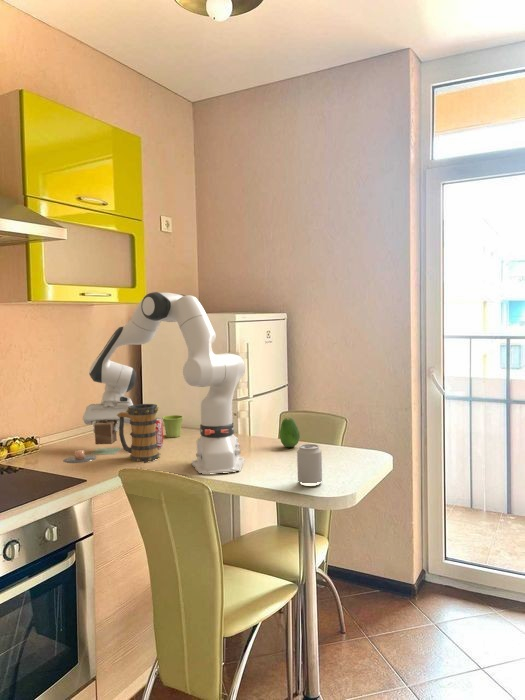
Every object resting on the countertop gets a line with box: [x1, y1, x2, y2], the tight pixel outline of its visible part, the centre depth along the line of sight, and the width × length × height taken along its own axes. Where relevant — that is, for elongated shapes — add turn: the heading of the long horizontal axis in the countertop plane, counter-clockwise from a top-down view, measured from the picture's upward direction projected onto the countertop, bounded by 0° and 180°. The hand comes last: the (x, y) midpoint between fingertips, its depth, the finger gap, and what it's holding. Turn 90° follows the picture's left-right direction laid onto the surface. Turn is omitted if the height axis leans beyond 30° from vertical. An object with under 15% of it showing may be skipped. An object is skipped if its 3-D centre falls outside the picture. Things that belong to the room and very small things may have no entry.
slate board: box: [63, 454, 97, 464], centre depth 210 cm, size 12×12×1 cm
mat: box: [88, 447, 123, 456], centre depth 221 cm, size 10×10×1 cm
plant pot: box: [162, 414, 184, 438], centre depth 248 cm, size 9×9×9 cm
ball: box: [74, 449, 86, 460], centre depth 210 cm, size 3×3×3 cm
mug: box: [117, 403, 161, 463], centre depth 209 cm, size 13×17×20 cm
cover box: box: [94, 420, 118, 445], centre depth 221 cm, size 6×6×9 cm
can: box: [296, 443, 323, 483], centre depth 170 cm, size 8×8×12 cm
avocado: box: [279, 417, 301, 448], centre depth 219 cm, size 8×8×12 cm
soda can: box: [156, 417, 164, 450], centre depth 225 cm, size 7×7×12 cm
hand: (105, 431), depth 220 cm, fingers closed on cover box, 6 cm apart
